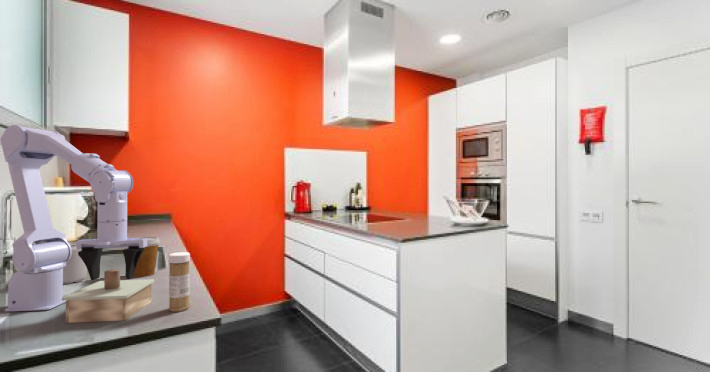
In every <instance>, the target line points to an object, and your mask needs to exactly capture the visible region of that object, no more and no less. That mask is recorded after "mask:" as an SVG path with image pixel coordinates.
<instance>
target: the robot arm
mask: <svg viewBox="0 0 710 372" xmlns="http://www.w3.org/2000/svg"><path fill="white" fill-rule="evenodd" d="M65 137H66V136H65V135H63V134H60V133H59V132H58V131H56V130H47V129H40V128H33V127H27V126H26V127H25V126H21V125H18V124H11V125H9V126H8V127H7V128H6V129H5V130H4V131H3V134H2V136H1V137H0V144H1V149H2V152H3V157H4V160H5V162H7V165H8V171H9V174H10V179H11V183H12V186H13V191H14V196H15V199H16V204H17V208H18V209H17V210H18V211H19V213H18V214H19V216H20V220H21V221H20V222H21V226H22V229H23V233H22V234H21V236H19V237H18V238H17V239H16V240H14V242H13V243H12V249H13V251H12V256H11V257H12V264H13V266H14V267H15V269H17V270H18V271H16V272H14V273H13V274H12V275H11V276H10V278H9V280H8V285H7V286H8V287H7V288H8V289H7V308H5V309H4V311H5V312H28V311H49V310H51V309H53V308H56V307H58V306H60V305H62V304H65V303H66V300H65V301H62V297H64V284H63V267H65V266H66V263H67V262H68V261H69V260H70V258H71V256H72V248H71V246H70V244H69V243H68V242H69V241H68V240H67V238H66V234H65V233H64V232H62V231H60V230H58V229H57V228H54V225H53V221H52V216H51V214H50V209H49V205H48V201H47V200H48V199H47V196H46V192H45V189H44V185H43V180H42V179H43V178H42V175H41V172H40V168H41V167H42V166H44V165H48V164H49V162H50V161H51V160H53V159H54V158H55V157H57V158H60V159H62V160H63V161H64V162H66V163H68V164H70V165H71V166H70V167H71V168H70V169H71V170H72V172H73V173H74V174H76V175H77V176H79V177H80V178H82V179H83V180H85V181H86V182H88V183H89V184H90V188H91V190H92V192H93V194H94V200H95V202H97V221H96V222H97V223H96V224H97V231H96V232H97V238H93V239H92V238H91V239H90V238H87V239H79V240H76V241H75V242H76V249H82V250H81V251H79V252H78V255H79V256H80V258H81V259H82V260H83V262H84V263H85V265H86V267H87V273H88V276H89V279H90V281H95V280H97V279H99V278H100V276H101V257H102V253H103V249H120V248H121V249H122V248H124V249H122V254H123V258H124V263H125V280H131V279H132V278H135V277H134V273H135V269H136V266H137V263H138V261H139V258H140V256H141V255H142V253H143V251H144V249H145V247H147V238H139V237H128V194H129V193H130V192H131V191H132V190H133V188H134V178H133V176H132V175H131V173H130V172H128V170H124V169H123V170H122V169H121V170H117V169H116V168H115V166H114V165H112V164H111V163H110V164H108V163H107V162H106V161H103V160H102V159H101V158H100V155H98V154H97V153H85V152H84V153H83V152H81V150H79V149H77V148H76V147H75V146H74V145H72V144H71V143H70V142H69V141H67V139H66V138H65ZM125 248H126V249H125Z"/></svg>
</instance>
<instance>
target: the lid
mask: <svg viewBox="0 0 710 372" xmlns="http://www.w3.org/2000/svg"><path fill="white" fill-rule="evenodd" d="M103 274H104V278H103V280H99V281H96V282H94V283H92V284H89V285H87V286H85V287H83V288H81V289H78V290H76V291H74V292H72V293H69V294H67V295H65V296H63V297H62V301H65V300H94V299H124V298H128V297H130V296H132V295H133V294H135V293H136V292H138V291H140V290H141V289H143V288H145V287H146V286H148V285H150V284H151V285H152V284H153V283H155V279H154V278H153V279H121V269H118V268H114V269H109V270H105V271H104V273H103Z"/></svg>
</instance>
